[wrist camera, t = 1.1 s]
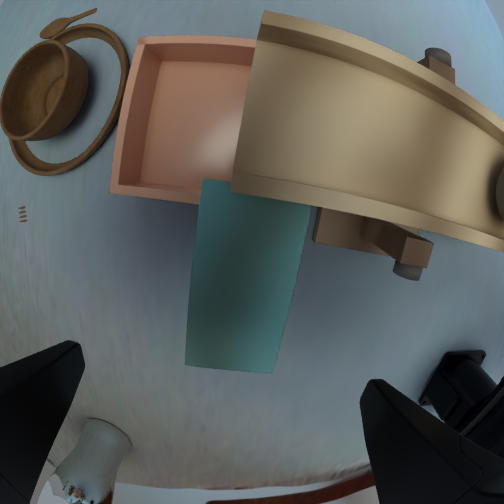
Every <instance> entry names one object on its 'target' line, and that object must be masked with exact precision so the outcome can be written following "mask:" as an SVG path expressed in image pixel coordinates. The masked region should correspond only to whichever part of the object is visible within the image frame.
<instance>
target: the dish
mask: <svg viewBox="0 0 504 504" xmlns="http://www.w3.org/2000/svg"><path fill="white" fill-rule="evenodd" d="M256 41H257V40H254V39H245V38H234V37H221V36H195V35H177V36H152V37H139V40H138V43H137V46H136V50H135V53H134V57H133V60H132V64H131V68H130V72H129V75H128V80H127V84H126V88H125V93H124V97H123V102H122V107H121V112H120V117H119V123H118V129H117V135H116V141H115V148H114V156H113V164H112V172H111V182H110V193H111V194H120V195H129V196H137V197H145V198H153V199H161V200H168V201H176V202H183V203H190V204H197V205H199V203H200V195H201V188H202V181H203V179H204V178H208V179H216V180H223V181H230V182H231V179H232V172H233V166H234V160H235V154H236V148H237V142H238V136H239V131H240V125H241V119H242V114H243V108H244V103H245V97H246V92H247V86H248V81H249V76H250V71H251V66H252V61H253V56H254V51H255V46H256Z"/></svg>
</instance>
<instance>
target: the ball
mask: <svg viewBox="0 0 504 504" xmlns="http://www.w3.org/2000/svg"><path fill="white" fill-rule="evenodd" d="M496 203H497V207H498V210H499V213H500V215H501V217H502V219H503V220H504V168H503V169H502V171H501V172H500V174H499V177H498V179H497V184H496Z"/></svg>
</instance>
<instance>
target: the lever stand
mask: <svg viewBox="0 0 504 504" xmlns="http://www.w3.org/2000/svg"><path fill="white" fill-rule="evenodd" d="M417 63H419V64H420V65H422V66H424V67H426V68H428V69H430V70H431V71H433V72H435V73H436V74H438V75H440V76H442V77H443V78H445V79H446V80H448V81H450V82H451V83H453V84H454V85H455V69H454V68H452V67H451V56H450V54H449V53H448V52H446V51H444V50H442V49H439V48H428V49H426V50H425V58H424V59H422V60H420V61H419V62H417ZM418 231H419V229H418V228H414V227H410V226H406V225H402V224H398V223H394V222H389V221H385V220H380V219H376V218H372V217H367V216H362V215H358V214H353V213H348V212H343V211H338V210H333V209H328V208H323V207H319V212H318V217H317V221H316V226H315V231H314V236H313V240H314V242H315V243H320V244H326V245H332V246H337V247H343V248H348V249H354V250H359V251H364V252H370V253H375V254H380V255H386V256H391V257H392V258H394V259H395V260H396V261H395V265H394V268H393V272H394V273H395V274H397V275H398V276H401V277H403V278H406V279H409V280H415V281H417V280H419V279H420V275H421V272H422V269H423V267H424V268H427V265H428V262H429V258H430V255H431V251H432V248H433V244H434V243H432V242H430V241H428V240H426V239H424V238H422V237H420V236H418Z"/></svg>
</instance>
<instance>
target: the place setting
mask: <svg viewBox="0 0 504 504" xmlns="http://www.w3.org/2000/svg"><path fill="white" fill-rule="evenodd" d="M96 11H97V8H95V9H92V10H90V11H87V12H84V13H82V14H80V15H77V16H74V17H71V18H59V19H57V20H55V21H53V22H51V23H50V24H49V25H47V26H46V27H45V28H44V29H43V30H42V31H41V33H40V37H41V38H50V37H52V38H50V39H49V40H46V41H43V42H40V43H38V44H36V45H35V46H33V47H32V48H30V49H29V50H28V51H27V52H26V53H25V54H23V55H22V57H21V58H20V59H19V60H18V61H17V63H16V64H15V65H14V67H13V68H12V70H11V72H10V74H9V75H8V77H7V80H6V82H5V84H4V87H3V90H2V94H1V98H0V123H1V127H2V129H3V131H4V133H5V134H6V135H7V136H8V137H9V142H10V145H11V148H12V151H13V153H14V155H15V157H16V159H17V160H18V162H19V163H20V164H21V165H22V166H23V167H24V168H25V169H26V170H28V171H29V172H31V173H34V174H37V175H41V176H50V175H56V174H60V173H63V172H66V171H69V170H71V169H72V168H74V167H76V166H78V165H79V164H81V163H82V162H83V161H85V160H86V159H87V158H88V157H89V156H90V155H92V154H93V153H94V152H95V150H96V149H97V148H98V147H99V146H100V145H101V144H102V142H103V141H104V140H105V138H106V137H107V136H108V134H109V132H110V131H111V129H112V128H113V126H114V124H115V122H116V120H117V118H118V116H119V114H120V111H121V107H122V102H123V97H124V93H125V88H126V84H127V80H128V75H129V64H128V58H127V54H126V51H125V48H124V46H123V44H122V42H121V40H120V39H119V38H118V37H117V36H116V35H115V33H113V32H112V31H111V30H109V29H108V28H106V27H104V26H102V25H98V24H88V23H87V24H79V25H76V26H72V27H70V28H67V29H65V28H66V27H67V26H68V25H69V24H70V23H72V22H74V21H75V20H78V19H80V18H83V17H85V16H88V15H90V14H93V13H95V12H96ZM64 29H65V30H64ZM88 37H92V38H98V39H102V40H104V41H106V42H107V43H109V44H110V45H111V46H112V47H113V48H114V50H115V51H116V53H117V55H118V57H119V60H120V64H121V79H120V85H119V90H118V94H117V97H116V100H115V104H114V106H113V108H112V111H111V113H110V116H109V117H108V119H107V121H106V123H105V125H104V127H103V128H102V130H101V132H100V133H99V135H98V136H97V137H96V139H95V140H94V141H93V143H92V144H91V145H90V146H89V147H88V149H87V150H86V151H85V152H83V153H82V154H80V155H79V156H78V157H76V158H74V159H72V160H70V161H67V162H64V163H59V164H51V163H46V162H43V161H41V160H39V159H38V158H36V157H35V156H34V155H33V154H32V152H31V151H30V150H29V148H28V146H27V144H26V142H25V141H38V140H45V139H48V138H51V137H53V136H55V135H57V134H58V133H60V132H61V131H63V130H64V129H65V128H66V127H67V126H68V125H69V124H70V123H71V122H72V120H73V119H74V118H75V116H76V115H77V113H78V112H79V110H80V108H81V106H82V104H83V102H84V99H85V96H86V93H87V88H88V69H87V66H86V63H85V61H84V59H83V58H82V57H81V55H79V54H78V53H77V52H76V51H75V50H73V49H72V48H70V47H68V46H66V45H65V44H67V43H69V42H71V41H74V40H77V39H81V38H88ZM23 208H25V206H23V207H20V208H18V209H23ZM25 212H26V211H22V212H19V213H25ZM26 216H27V215H24V216H21V217H19V218H22V217H26ZM26 221H27V220H22V221H20V222H26Z"/></svg>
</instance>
